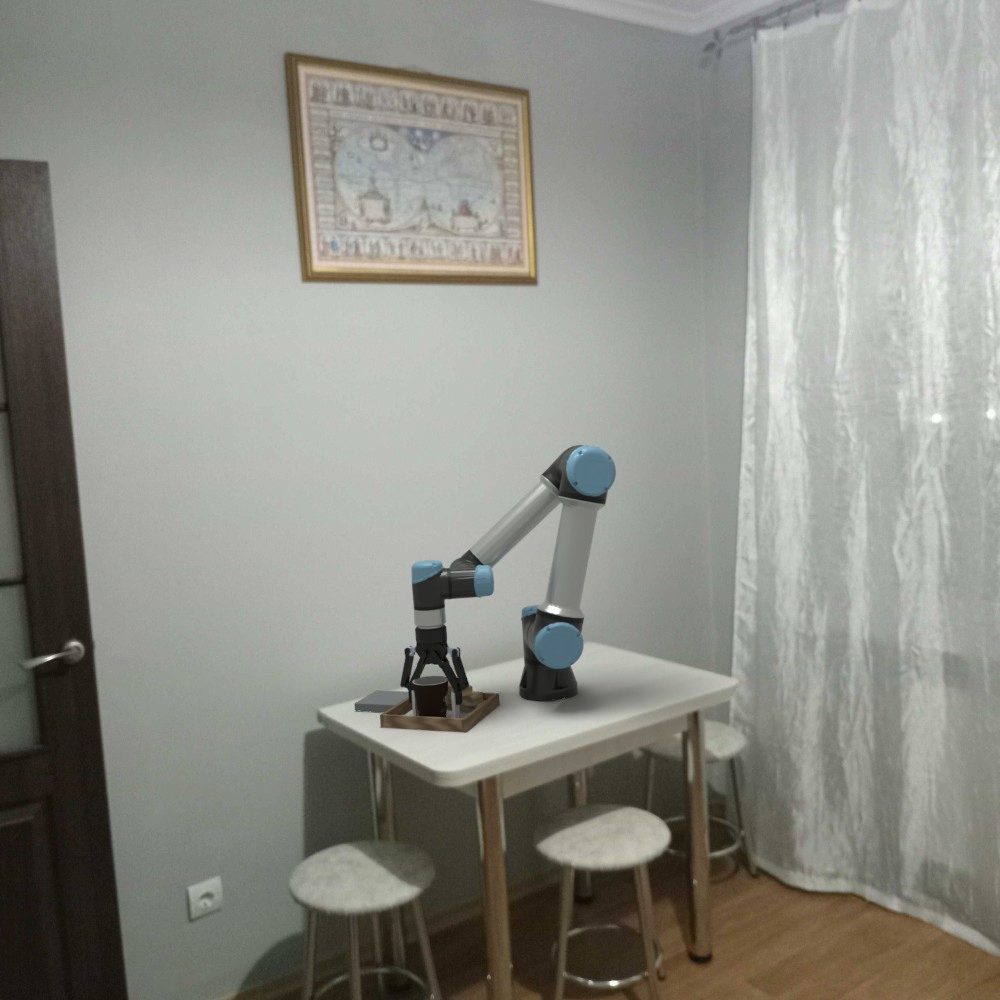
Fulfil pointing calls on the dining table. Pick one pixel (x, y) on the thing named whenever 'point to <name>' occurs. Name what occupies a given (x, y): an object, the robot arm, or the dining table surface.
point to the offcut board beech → (464, 692)
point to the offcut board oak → (464, 707)
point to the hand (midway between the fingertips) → (436, 716)
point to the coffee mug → (431, 696)
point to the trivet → (380, 700)
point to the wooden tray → (399, 720)
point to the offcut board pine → (469, 699)
